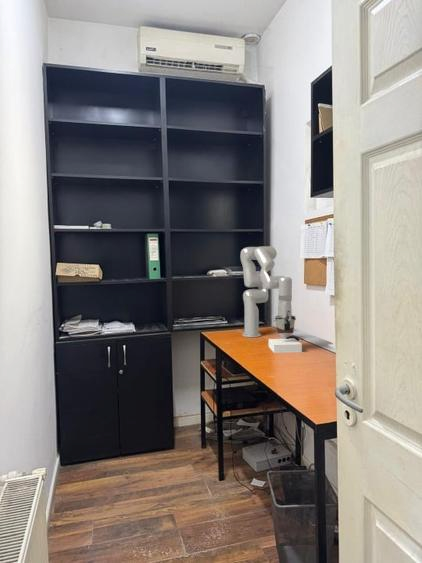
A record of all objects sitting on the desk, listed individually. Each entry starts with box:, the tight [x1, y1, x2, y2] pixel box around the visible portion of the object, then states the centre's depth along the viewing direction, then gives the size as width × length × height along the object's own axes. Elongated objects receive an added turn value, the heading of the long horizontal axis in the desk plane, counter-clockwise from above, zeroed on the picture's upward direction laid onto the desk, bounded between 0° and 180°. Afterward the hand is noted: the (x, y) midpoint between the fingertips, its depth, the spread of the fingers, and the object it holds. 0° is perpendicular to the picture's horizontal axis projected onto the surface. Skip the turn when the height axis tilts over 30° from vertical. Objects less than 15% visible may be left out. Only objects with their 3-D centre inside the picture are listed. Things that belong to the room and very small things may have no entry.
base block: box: [268, 338, 303, 354], centre depth 224 cm, size 14×16×5 cm
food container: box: [274, 314, 297, 335], centre depth 224 cm, size 12×6×10 cm, turn 86°
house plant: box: [273, 315, 297, 339], centre depth 249 cm, size 14×14×16 cm
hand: (284, 328), depth 223 cm, fingers closed on food container, 5 cm apart
